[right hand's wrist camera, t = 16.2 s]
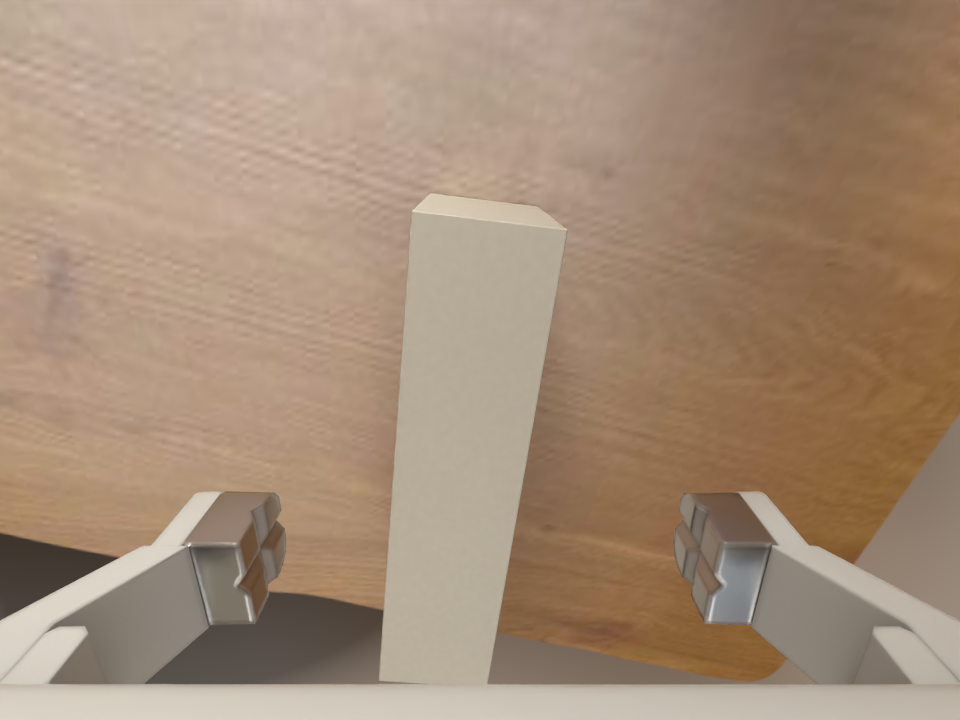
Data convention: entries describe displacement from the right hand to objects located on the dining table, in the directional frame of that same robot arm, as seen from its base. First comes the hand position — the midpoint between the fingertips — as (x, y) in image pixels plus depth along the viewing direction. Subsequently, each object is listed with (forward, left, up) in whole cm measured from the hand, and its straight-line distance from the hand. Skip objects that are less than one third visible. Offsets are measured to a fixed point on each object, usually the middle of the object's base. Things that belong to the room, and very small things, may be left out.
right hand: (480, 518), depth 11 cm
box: (+3, +8, -23) cm, 25 cm away
